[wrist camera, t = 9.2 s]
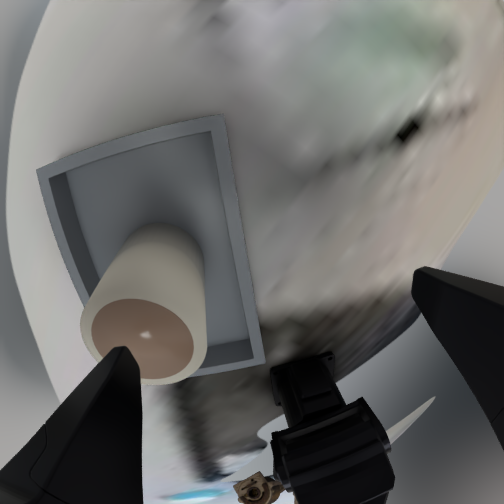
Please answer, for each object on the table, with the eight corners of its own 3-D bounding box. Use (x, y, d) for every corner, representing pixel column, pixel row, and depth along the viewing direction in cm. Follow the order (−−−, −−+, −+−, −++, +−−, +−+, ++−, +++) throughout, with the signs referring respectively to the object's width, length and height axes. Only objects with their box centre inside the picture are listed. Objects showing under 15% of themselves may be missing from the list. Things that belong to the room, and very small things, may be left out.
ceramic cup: (212, 293, 20) (220, 378, 13) (136, 307, 20) (113, 389, 12) (193, 214, 18) (186, 274, 10) (109, 233, 17) (58, 298, 10)
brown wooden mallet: (295, 487, 32) (238, 509, 29) (301, 504, 36) (255, 522, 34) (277, 458, 39) (224, 478, 36) (287, 480, 43) (243, 497, 40)
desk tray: (258, 338, 23) (265, 363, 21) (133, 359, 22) (127, 383, 20) (220, 117, 16) (223, 113, 13) (58, 163, 15) (36, 169, 12)
